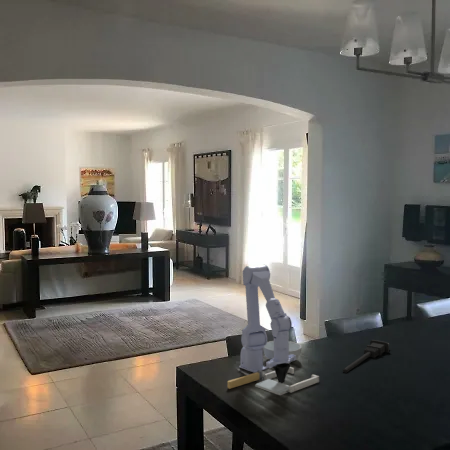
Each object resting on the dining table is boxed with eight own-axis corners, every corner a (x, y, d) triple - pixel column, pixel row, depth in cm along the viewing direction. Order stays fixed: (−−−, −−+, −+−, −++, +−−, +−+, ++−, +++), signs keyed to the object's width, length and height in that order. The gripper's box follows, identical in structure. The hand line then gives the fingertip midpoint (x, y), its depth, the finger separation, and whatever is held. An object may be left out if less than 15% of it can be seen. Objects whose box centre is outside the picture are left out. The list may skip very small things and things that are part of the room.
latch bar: (260, 377, 205) (259, 369, 204) (263, 378, 203) (263, 371, 203) (226, 387, 194) (226, 379, 194) (230, 389, 192) (230, 381, 192)
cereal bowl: (289, 370, 214) (289, 353, 213) (255, 362, 224) (255, 346, 223) (308, 359, 227) (308, 343, 227) (276, 352, 237) (276, 337, 237)
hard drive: (255, 384, 196) (280, 392, 187) (269, 378, 201) (294, 386, 193) (255, 388, 196) (280, 397, 187) (269, 382, 202) (294, 390, 193)
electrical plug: (392, 350, 240) (392, 339, 239) (354, 379, 208) (354, 367, 207) (374, 346, 245) (374, 336, 245) (335, 374, 213) (335, 363, 213)
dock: (254, 379, 203) (254, 373, 203) (283, 369, 214) (283, 364, 214) (289, 393, 189) (289, 387, 189) (319, 381, 200) (319, 376, 200)
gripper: (275, 353, 189) (275, 389, 190) (301, 345, 198) (301, 380, 199) (262, 349, 194) (262, 384, 195) (288, 342, 204) (288, 375, 204)
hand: (281, 382), depth 197 cm, fingers closed
